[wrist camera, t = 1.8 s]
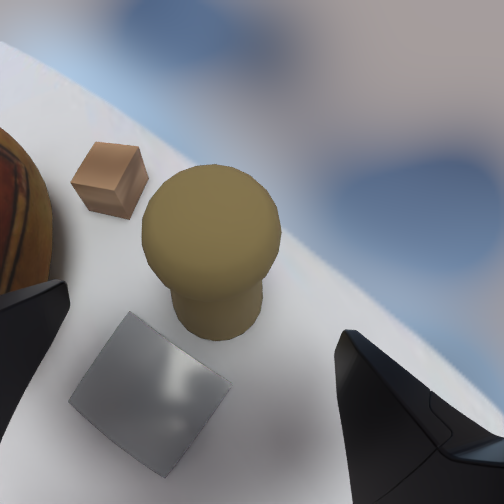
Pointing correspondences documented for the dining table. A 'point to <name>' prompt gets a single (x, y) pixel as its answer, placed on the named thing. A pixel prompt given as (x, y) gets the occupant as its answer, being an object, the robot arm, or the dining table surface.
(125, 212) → the walnut block
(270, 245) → the cork
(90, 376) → the coaster
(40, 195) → the ceramic pitcher
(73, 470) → the dining table surface
